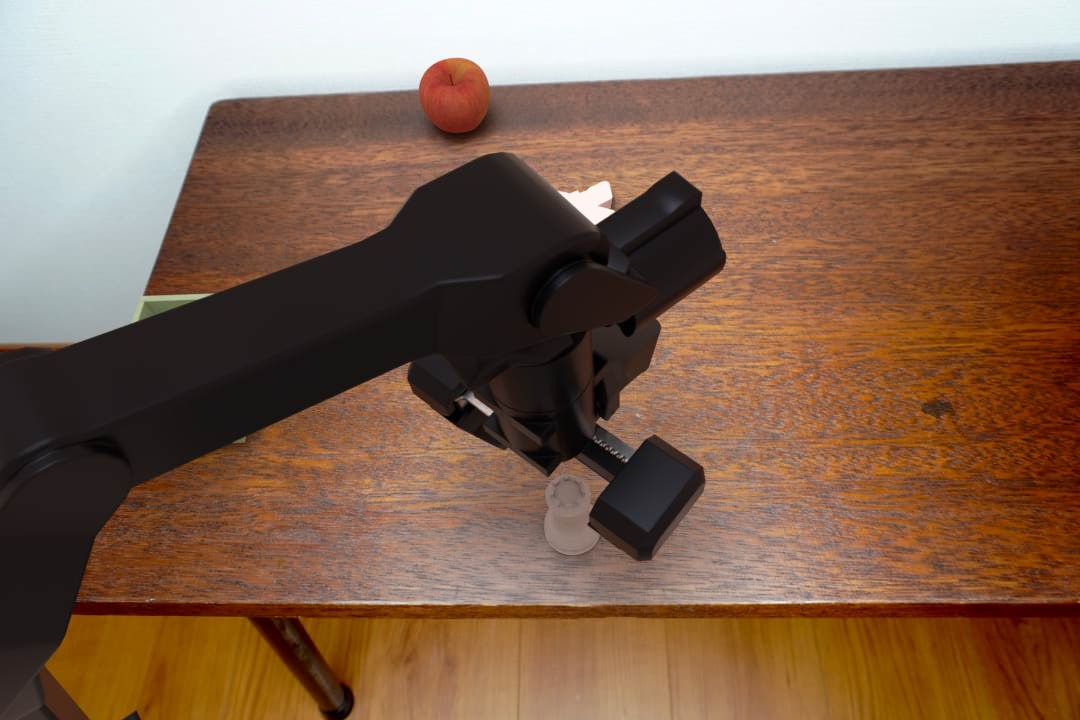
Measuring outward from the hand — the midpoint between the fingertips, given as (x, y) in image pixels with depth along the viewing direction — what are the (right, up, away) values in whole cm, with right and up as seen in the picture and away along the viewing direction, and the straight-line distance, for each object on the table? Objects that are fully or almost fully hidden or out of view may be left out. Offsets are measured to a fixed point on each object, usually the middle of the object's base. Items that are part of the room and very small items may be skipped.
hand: (558, 481), depth 56 cm
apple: (-10, +34, +33) cm, 48 cm away
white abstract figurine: (0, +22, +24) cm, 32 cm away
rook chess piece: (+1, -5, +8) cm, 10 cm away
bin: (-31, +6, +17) cm, 36 cm away
